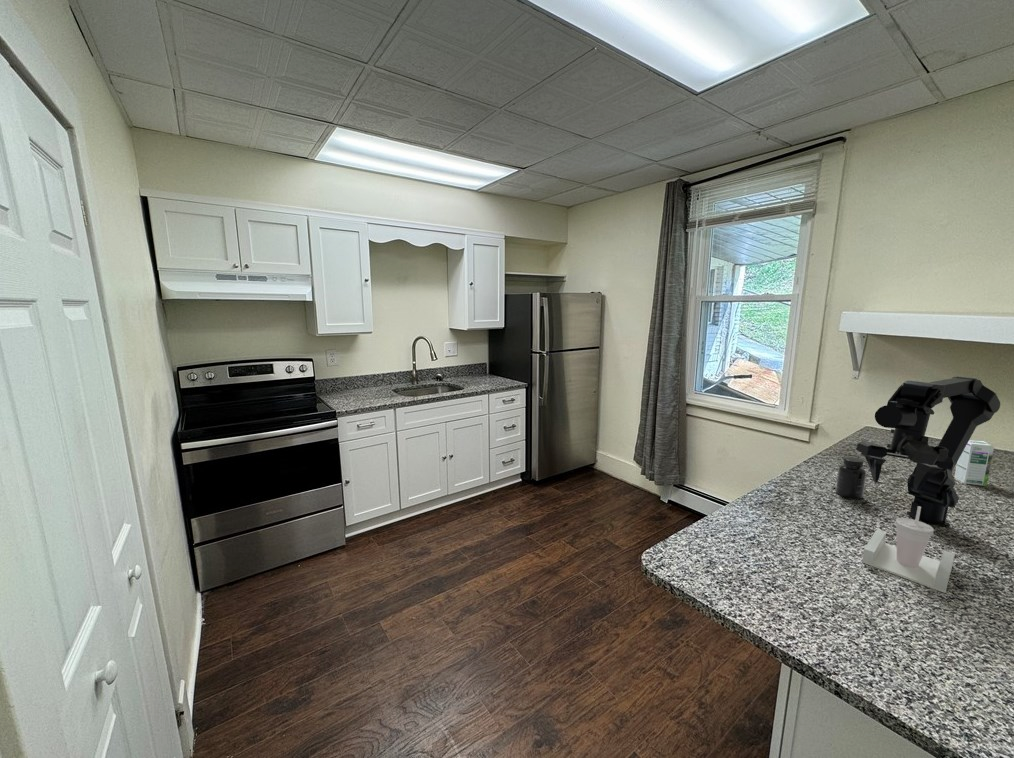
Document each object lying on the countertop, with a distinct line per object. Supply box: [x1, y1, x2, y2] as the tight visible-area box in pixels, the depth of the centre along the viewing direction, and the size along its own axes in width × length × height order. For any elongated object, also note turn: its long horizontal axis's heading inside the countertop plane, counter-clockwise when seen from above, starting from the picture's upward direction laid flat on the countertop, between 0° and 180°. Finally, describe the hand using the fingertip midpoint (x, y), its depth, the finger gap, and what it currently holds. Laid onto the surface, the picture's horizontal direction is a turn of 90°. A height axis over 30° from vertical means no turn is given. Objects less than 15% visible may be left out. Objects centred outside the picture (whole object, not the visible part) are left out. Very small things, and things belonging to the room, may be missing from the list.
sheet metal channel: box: [861, 528, 956, 594], centre depth 95 cm, size 14×14×4 cm
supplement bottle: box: [835, 456, 867, 500], centre depth 131 cm, size 7×7×12 cm
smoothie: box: [894, 506, 935, 567], centre depth 94 cm, size 6×6×14 cm
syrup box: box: [954, 439, 995, 487], centre depth 141 cm, size 6×6×14 cm
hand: (895, 485), depth 109 cm, fingers open, 9 cm apart
